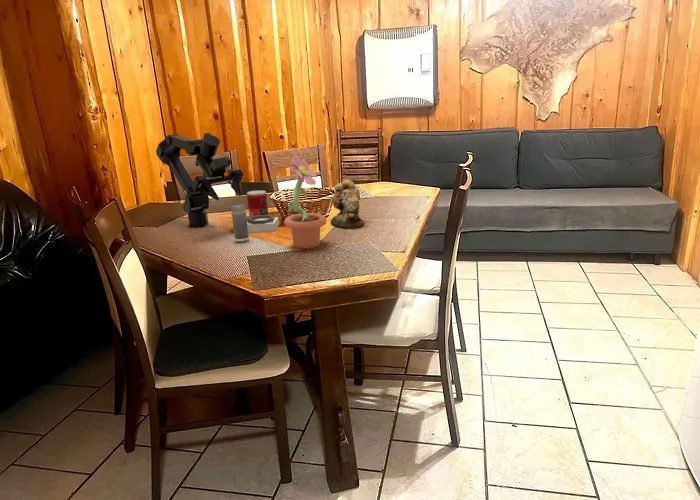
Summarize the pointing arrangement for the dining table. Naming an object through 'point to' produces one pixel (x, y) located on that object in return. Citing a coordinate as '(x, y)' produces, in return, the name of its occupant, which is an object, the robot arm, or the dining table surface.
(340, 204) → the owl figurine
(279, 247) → the dining table surface
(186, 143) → the robot arm
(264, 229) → the square flange plate
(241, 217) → the gray tumbler
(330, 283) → the dining table surface
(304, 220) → the decorative flower
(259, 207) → the canned food
